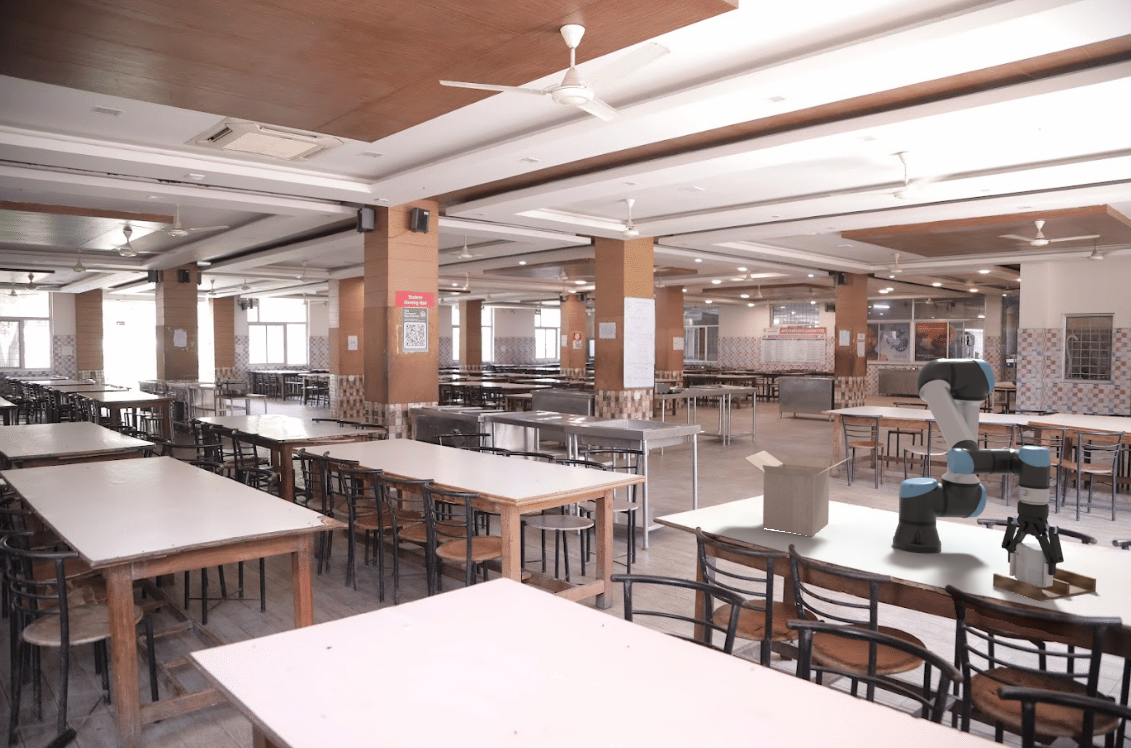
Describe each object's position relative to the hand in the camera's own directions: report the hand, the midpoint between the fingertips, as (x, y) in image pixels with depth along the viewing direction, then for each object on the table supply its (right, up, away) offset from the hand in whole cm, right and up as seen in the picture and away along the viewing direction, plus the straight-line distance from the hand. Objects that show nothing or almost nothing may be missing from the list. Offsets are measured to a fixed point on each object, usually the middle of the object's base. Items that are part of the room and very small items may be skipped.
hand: (1030, 580), depth 213 cm
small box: (0, -1, 0) cm, 1 cm away
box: (-44, 0, +73) cm, 85 cm away
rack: (+5, -3, +2) cm, 6 cm away
